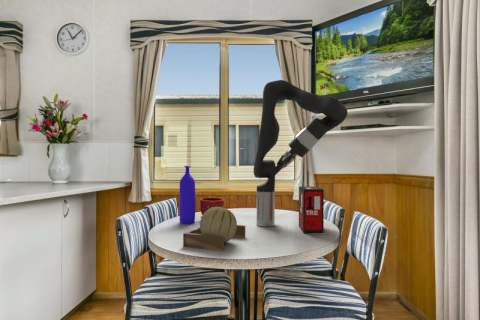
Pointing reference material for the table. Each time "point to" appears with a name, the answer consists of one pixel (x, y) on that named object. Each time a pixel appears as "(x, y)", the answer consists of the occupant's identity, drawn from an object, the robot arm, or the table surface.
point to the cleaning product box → (311, 210)
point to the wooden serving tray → (208, 239)
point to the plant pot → (210, 203)
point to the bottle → (187, 198)
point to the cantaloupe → (218, 223)
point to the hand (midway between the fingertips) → (272, 173)
